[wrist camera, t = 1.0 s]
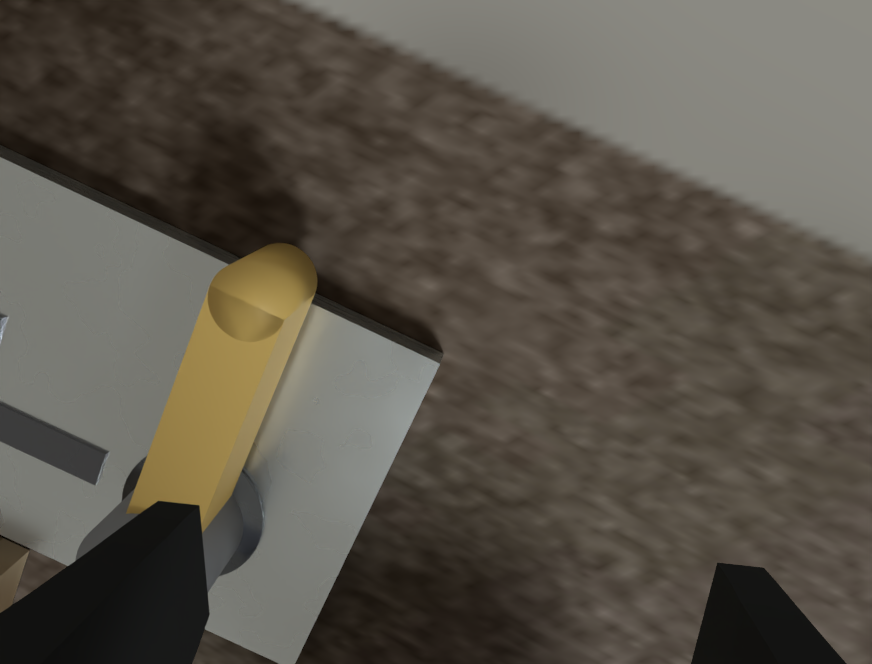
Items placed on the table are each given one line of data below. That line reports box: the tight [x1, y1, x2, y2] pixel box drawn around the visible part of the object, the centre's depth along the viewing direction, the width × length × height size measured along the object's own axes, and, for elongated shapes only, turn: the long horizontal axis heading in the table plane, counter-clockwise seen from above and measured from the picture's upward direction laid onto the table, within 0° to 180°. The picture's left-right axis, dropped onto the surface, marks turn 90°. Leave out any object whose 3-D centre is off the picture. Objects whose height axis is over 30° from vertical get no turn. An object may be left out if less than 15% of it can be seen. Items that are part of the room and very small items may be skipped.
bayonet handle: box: [75, 243, 317, 592], centre depth 22 cm, size 11×4×3 cm, turn 155°
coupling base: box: [0, 145, 444, 664], centre depth 24 cm, size 13×16×1 cm
